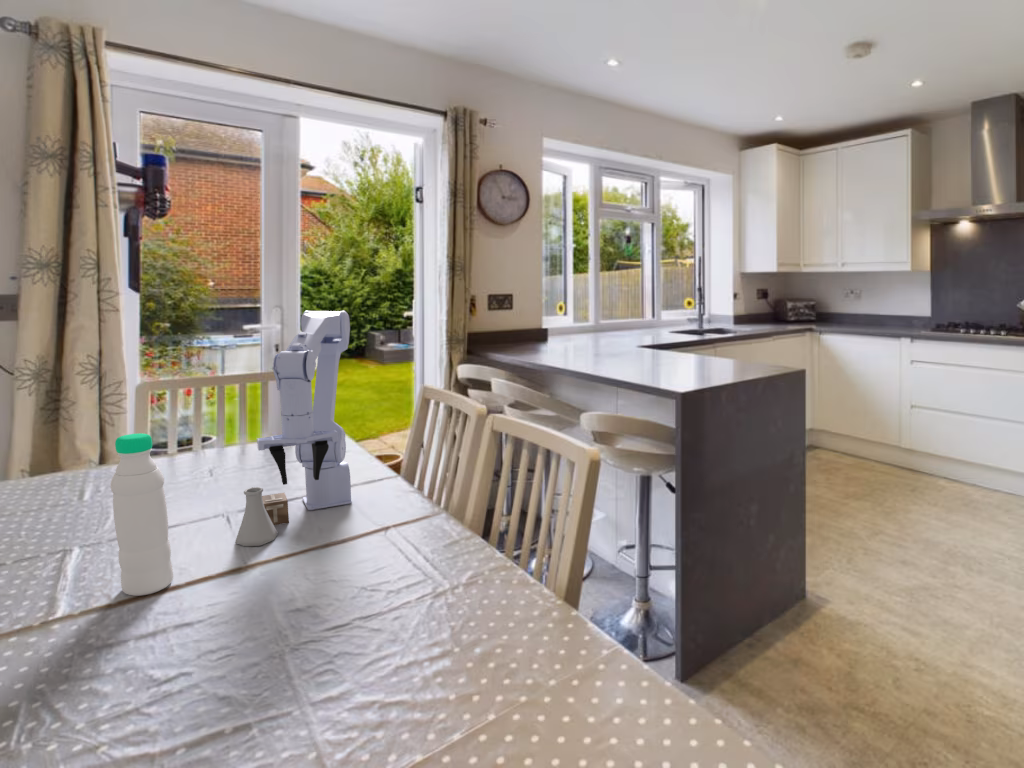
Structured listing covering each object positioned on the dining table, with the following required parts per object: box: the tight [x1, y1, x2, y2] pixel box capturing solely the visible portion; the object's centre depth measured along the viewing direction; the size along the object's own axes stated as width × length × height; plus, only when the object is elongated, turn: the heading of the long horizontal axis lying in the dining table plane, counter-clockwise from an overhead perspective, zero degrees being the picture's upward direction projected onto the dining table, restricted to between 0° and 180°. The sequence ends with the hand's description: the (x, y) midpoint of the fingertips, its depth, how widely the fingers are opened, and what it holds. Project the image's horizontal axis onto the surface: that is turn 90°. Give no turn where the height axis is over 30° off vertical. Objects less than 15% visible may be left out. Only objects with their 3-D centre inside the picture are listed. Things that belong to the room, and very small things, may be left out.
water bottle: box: [110, 432, 174, 597], centre depth 90 cm, size 7×7×25 cm
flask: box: [234, 486, 279, 547], centre depth 109 cm, size 7×7×10 cm
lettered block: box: [262, 492, 290, 526], centre depth 118 cm, size 5×5×5 cm
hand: (300, 480), depth 112 cm, fingers open, 5 cm apart
